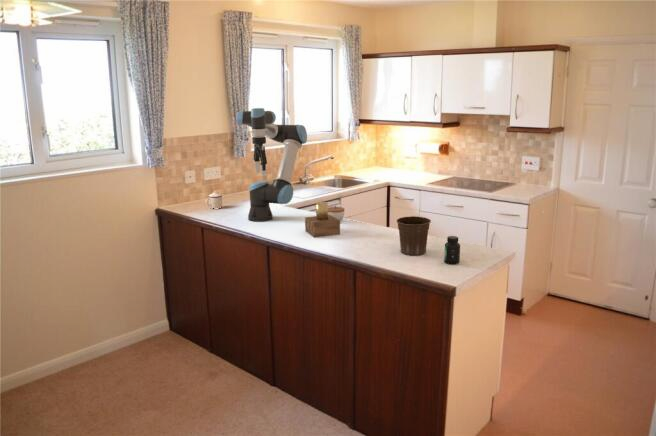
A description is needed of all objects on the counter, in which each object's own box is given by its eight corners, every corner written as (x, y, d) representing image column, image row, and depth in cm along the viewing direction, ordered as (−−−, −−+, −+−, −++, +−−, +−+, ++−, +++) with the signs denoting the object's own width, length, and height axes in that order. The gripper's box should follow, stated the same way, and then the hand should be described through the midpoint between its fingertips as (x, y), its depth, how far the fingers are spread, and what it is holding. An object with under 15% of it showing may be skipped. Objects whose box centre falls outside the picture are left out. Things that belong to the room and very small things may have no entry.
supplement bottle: (443, 263, 244) (444, 238, 241) (445, 259, 250) (446, 234, 248) (458, 265, 242) (459, 239, 239) (460, 261, 248) (461, 235, 245)
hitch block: (305, 231, 304) (304, 217, 302) (329, 228, 310) (329, 214, 308) (314, 237, 291) (314, 223, 289) (340, 234, 296) (339, 220, 294)
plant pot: (407, 259, 252) (408, 225, 248) (390, 250, 266) (390, 218, 263) (436, 254, 258) (437, 222, 254) (418, 245, 273) (418, 215, 269)
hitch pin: (315, 230, 302) (314, 202, 298) (325, 229, 304) (325, 201, 300) (319, 233, 296) (318, 204, 292) (329, 231, 298) (329, 203, 294)
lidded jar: (333, 218, 333) (333, 203, 331) (348, 220, 327) (347, 205, 325) (323, 221, 324) (323, 206, 322) (338, 224, 318) (337, 208, 316)
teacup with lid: (219, 206, 373) (218, 189, 370) (225, 208, 366) (224, 191, 364) (203, 208, 366) (201, 191, 363) (209, 210, 359) (208, 193, 356)
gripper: (247, 135, 308) (248, 171, 313) (258, 138, 285) (259, 178, 290) (259, 134, 311) (261, 171, 316) (271, 138, 288) (273, 177, 293)
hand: (260, 174), depth 303 cm, fingers open, 13 cm apart
